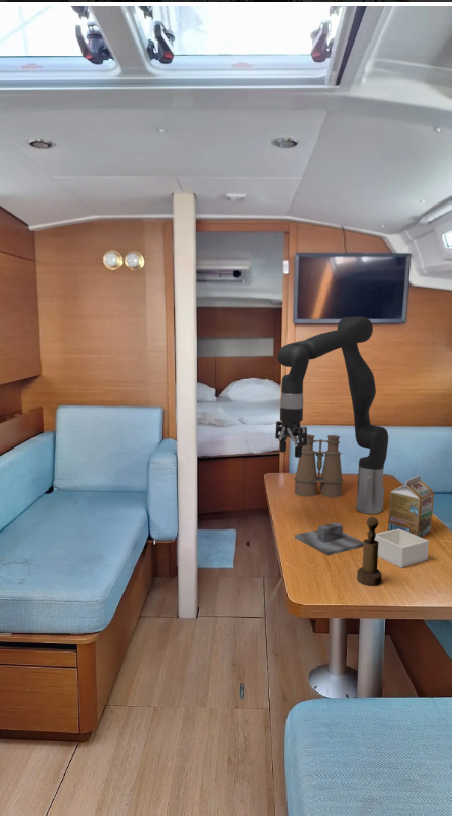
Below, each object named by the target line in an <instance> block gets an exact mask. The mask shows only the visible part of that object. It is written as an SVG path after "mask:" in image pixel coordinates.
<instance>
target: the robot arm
mask: <svg viewBox="0 0 452 816" xmlns="http://www.w3.org/2000/svg"><path fill="white" fill-rule="evenodd" d="M373 330H374V326H373V323H372V320H370V319H369V318H368V317H364V316H346V317H342V318H341V319H340V320H339V322H338V324H337V330H332V331H327V332H322V333H319V334H317V335H314V336H312V337H309V338H306V339H304V340H299V341H297V342H296V341H295V342H291V343H287V344H285V345H283V346H282V347H280V349H279V350H278V351H277V357H276V358H277V362H278V363H279V364H280V365H281V366H283V367H287V368H290V370H289V373H288V374H284V375H283V376H282V378H281V393H280V400H279V401H280V402H279V420H277V421H276V422H275V436H274V437H275V439H277V441H278V442H279V445H278V446H279V447H278V449H279V453H282V454H283V453H286V451H287V441H286V440H288V438H290V439H291V441H292V442H293V443H294V458H296V459H299V458H300V457H301V456H302V446H304V445H307V434H308V428H307V426H301V422H302V421H303V419H304V380H305V377H306V373H307V369H308V366H309V363H310V362H309V361H310V360H316V359H317V358H319V357H321V356H324V355H326V354H329V353H331V352H334V351H336V350H339V349H341V350H342V355H343V359H344V363H345V368H346V373H347V380H348V385H349V392H350V397H351V402H352V412H353V419H354V432H355V433H354V435H355V441H356V443H357V445H358V446H359V447H361V448H363V449H367V450H369V453H368V456H364V457H360V458H359V460H358V473H357V491H356V507H355V509H356V511H358V512H360V513H363V514H369V515H370V514H371V515H375V514H376V515H377V514H380V513H382V511H383V510H384V497H385V496H384V495H385V486H384V485H383V483H384V468H385V463H386V460H387V454H388V445H389V434H388V430H387V428H386V427H383V426H379V425H374V424H371V420H370V408H371V406H372V404H373V402H374V399H375V398H376V393H377V390H376V389H377V388H376V381H375V376H374V373H373V371H372V369H371V367H370V366H369V365H368V363H367V362H366V360H364V358H363V356H362V355H361V353H360V349H359V346H358V344H362V343H366V342H368V341H369V340H370V338H371V337H372V335H373V332H374V331H373ZM302 440H303V441H304V442H303V441H302Z"/></svg>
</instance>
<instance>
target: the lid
mask: <svg viewBox="0 0 452 816" xmlns="http://www.w3.org/2000/svg"><path fill="white" fill-rule="evenodd" d="M343 531H344V525H343V524H341V523H339V522H331V523H326V524H323V525H318V526H317V530H311V531H309V532H303V533H298V534H295V535H294V538H295V539H296V540H297V541H299V542H302V543H303V544H305V545H307V546H309V547H311V548H312V549H314V550H316V551H318V552H320V553H322V554H324V555H325V556H327V557H328V556H331V555H336V554H341V553H343V552H347V551H352V550H355V549H359V548H362V547H363V543H364V541H362V540H360V539H358V538H355V537H353V536H352V535H349V534H347V533H345V532H343Z"/></svg>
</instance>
